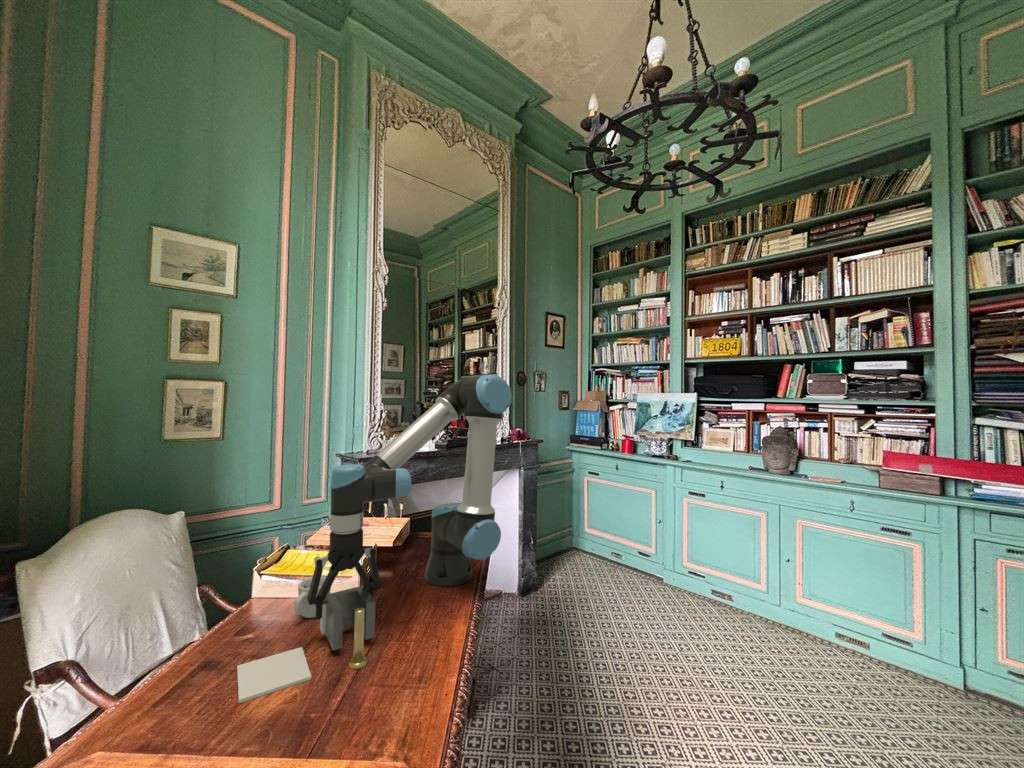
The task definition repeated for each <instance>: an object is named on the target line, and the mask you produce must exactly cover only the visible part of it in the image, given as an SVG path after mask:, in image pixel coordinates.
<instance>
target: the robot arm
mask: <svg viewBox="0 0 1024 768" xmlns="http://www.w3.org/2000/svg"><path fill="white" fill-rule="evenodd" d="M512 397H513V396H512V389H511V387H510V385H509V384H508V382H507V381H506V380H505V379H504V378H503V377H501V376H499V375H495V374H483V375H474V376H473V375H472V376H466V377H462V378H459V380H457V381H455V382H454V383H452V385H450V386H449V387H448V388H446V389H445V390H444V391H443V392H442V393H441V394H440V395H439V396H437V397H436V398H435V403H434V404H433V405H432V406H430V408H428V409H427V410H425V412H424V413H423V414H422V415H420V416H419V417H418V418H417V419H415V421H413V422H412V423H411V424H409V426H407V427H406V428H405V429H404V430H403V431H402V432H401V433H400V434H398V435H397V436H396V437H395V438H393V440H391V441H390V442H389V443H388V444H386V445H385V446H384V447H383V448H382V449H381V450H379V452H378V453H376V454H375V455H373V457H372V458H370V459H369V460H368V461H365V462H361V463H358V464H355V463H354V464H353V463H352V464H350V463H349V464H340V465H337V466H335V467H333V469H332V471H331V479H330V481H331V482H330V521H329V529H330V532H329V550H328V553H327V554H326V555H325V556H322V557H320V556H316V557H315V558H314V566H315V567H314V571H313V574H312V577H313V578H312V577H311V578H312V582H311V586H310V589H309V593H308V597H307V600H308V603H309V604H310V605H312V604H315V605H316V614H315V615H316V617H315V618H316V619H317V620H319V630H320V633H321V634H322V635H326V634H325V633H326V603H325V601H324V600H325V598H326V596H327V594H328V592H329V590H330V588H332V585H333V583H334V581H335V580H336V577H337V576H338V575H339V573H340V572H344V571H346V570H352V569H355V571H356V572H357V574H358V576H359V578H360V580H361V581H362V583H363V586H364V587H365V588H366V590H367V591H368V592H369V594H370V595H371V596H372V597H373V598H374V593H375V589H379V588H380V587H381V586H382V583H381V578H380V574H379V570H378V569H379V568H378V566H377V561H376V555H377V550H376V548H374V547H373V546H372V545H371V546H369V547H366V548H365V547H364V529H363V527H364V510H365V508H364V504H365V503H371V502H378V501H385V500H393V499H395V500H397V499H399V498H403V497H406V496H408V495H409V494H410V492H411V489H412V476H411V474H410V471H409V469H407V468H403V467H402V466H403V465H404V464H406V462H407V461H409V460H410V459H411V458H412V457H413V456H414V455H415V454H417V452H419V451H420V450H421V449H422V448H423V447H424V446H426V444H428V443H429V442H430V440H432V439H433V438H434V437H435V436H436V435H438V433H439V432H440V431H441V430H443V429H444V428H445V427H446V426H447V425H448V424H449V423H450V422H452V421H454V422H456V421H457V420H458V419H459V418H461V416H464V418H465V419H466V421H467V422H468V435H467V445H466V455H465V456H466V457H465V465H464V466H465V467H464V468H465V470H464V479H463V488H462V489H463V492H462V501H461V502H447V503H441V504H437V505H435V506H434V507H433V508H432V512H431V518H430V519H431V538H430V539H431V541H430V543H431V545H430V549H431V550H430V555H429V558H428V560H427V563H426V567H425V571H424V580H425V581H426V582H427V583H428V584H430V585H433V586H437V587H454V586H459V585H463V584H465V582H466V583H467V581H468V580H469V581H471V579H472V578H473V566H472V563H471V559H473V560H485V559H487V558H489V557H490V556H491V555H493V553H494V552H495V551H496V550H497V549H498V547H499V544H500V542H501V537H502V531H501V526H499V524H498V522H496V521H495V519H496V518H495V517H496V516H495V515H496V510H495V508H494V507H493V506H492V492H493V480H494V470H495V469H494V467H495V455H496V443H497V432H498V431H497V430H498V429H497V428H498V425H499V424H500V423H501V422H502V421H503V416H504V413H505V412H506V411H507V410H508V408H510V406H511V403H512ZM401 467H402V468H401ZM364 555H365V556H366V558H367V561H368V565H369V570H370V574H371V579H372V582H371V581H370V580H369V578H368V576H367V574H366V573H365V570H364V569H363V567H362V565H361V562H360V561H361V560H362V559H363V557H364ZM327 562H329V563H330V567H329V570H328V573H327V575H326V576H325V577H326V579H325V581H324V583H323V585H322V587H321V589H320V591H319V593H318V595H317V591H318V587H319V583H320V579H321V576H322V574H323V569H324V568H325V567H326V564H327ZM471 577H472V578H471ZM469 581H468V582H469ZM330 591H331V590H330ZM316 595H317V597H316Z"/></svg>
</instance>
